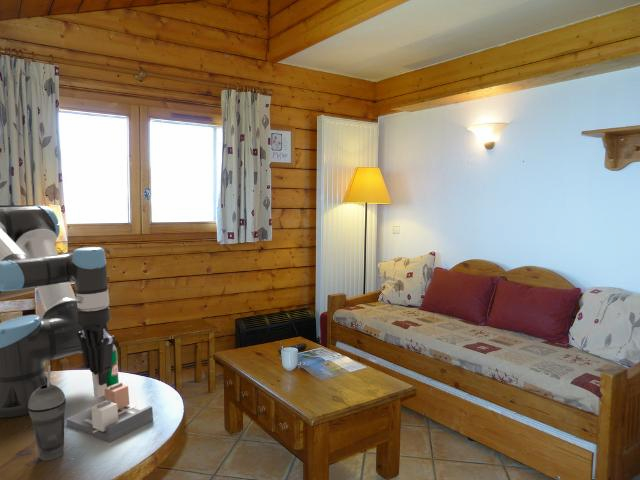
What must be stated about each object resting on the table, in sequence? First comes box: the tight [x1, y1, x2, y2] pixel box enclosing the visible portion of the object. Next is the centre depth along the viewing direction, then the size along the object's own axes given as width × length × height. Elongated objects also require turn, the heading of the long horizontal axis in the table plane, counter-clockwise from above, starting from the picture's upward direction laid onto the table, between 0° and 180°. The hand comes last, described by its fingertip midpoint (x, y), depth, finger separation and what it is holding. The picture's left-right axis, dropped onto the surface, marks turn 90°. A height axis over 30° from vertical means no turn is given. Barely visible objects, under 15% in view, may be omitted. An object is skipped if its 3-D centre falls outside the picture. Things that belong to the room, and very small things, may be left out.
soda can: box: [106, 344, 120, 387], centre depth 141 cm, size 5×5×12 cm
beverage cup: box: [28, 365, 67, 462], centre depth 104 cm, size 7×7×20 cm
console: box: [66, 405, 154, 443], centre depth 119 cm, size 17×14×4 cm
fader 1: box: [104, 382, 130, 410], centre depth 124 cm, size 4×4×6 cm
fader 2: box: [90, 400, 118, 432], centre depth 113 cm, size 4×4×6 cm
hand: (100, 395), depth 127 cm, fingers closed
